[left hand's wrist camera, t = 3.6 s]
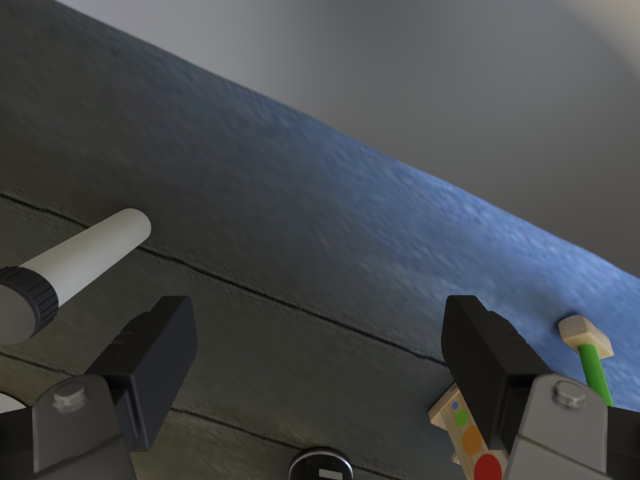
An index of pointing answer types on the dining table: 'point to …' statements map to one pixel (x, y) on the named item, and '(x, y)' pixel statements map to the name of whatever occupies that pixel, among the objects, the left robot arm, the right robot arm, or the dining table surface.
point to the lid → (24, 304)
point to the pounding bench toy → (467, 440)
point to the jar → (90, 252)
